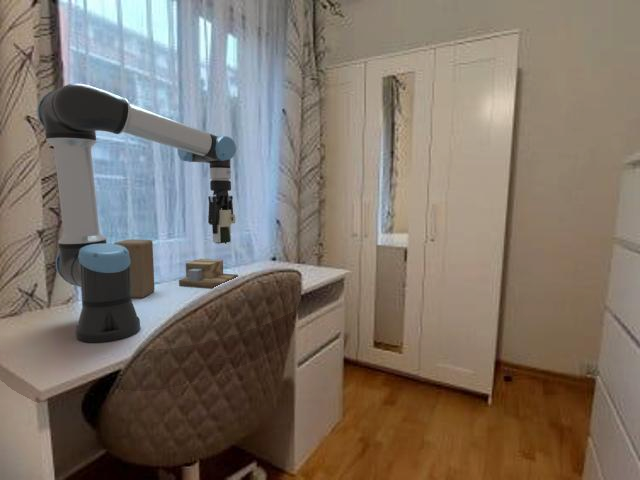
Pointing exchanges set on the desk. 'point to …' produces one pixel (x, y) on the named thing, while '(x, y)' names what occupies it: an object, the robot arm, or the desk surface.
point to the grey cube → (195, 274)
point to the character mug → (225, 225)
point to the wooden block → (140, 266)
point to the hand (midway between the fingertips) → (222, 240)
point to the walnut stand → (207, 274)
